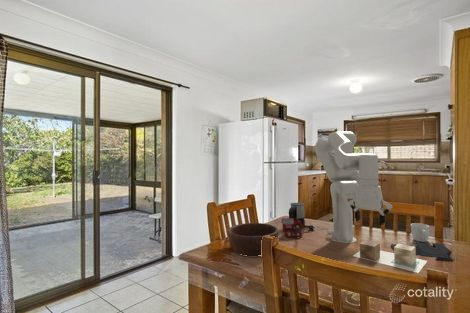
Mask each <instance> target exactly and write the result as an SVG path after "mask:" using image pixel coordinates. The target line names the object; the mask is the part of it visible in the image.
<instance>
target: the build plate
mask: <svg viewBox="0 0 470 313" xmlns="http://www.w3.org/2000/svg"><path fill="white" fill-rule="evenodd" d="M352 257H355V258H359V259H363V260H367V261H371V262H374V263H378V264H382V265H386V266H390V267H395V268H397V269H402V270H405V271H409V272H414V273H416V274H419V272H421V271H422V269H423V268H424V267H425V265H426V264H427V263H428V260H427V259H426V260H425V259H420V258H417V257H416V262H415V263H414V265H413V266H409V265H405V264H401V263H397V262H395V261H394V253H393V252H390V251H384V250H381V249H380V258H378V259H377V260H376V261H372V260H368V259H364V258H360V250H359V251H358V252H356V253H355V254H353V255H352Z"/></svg>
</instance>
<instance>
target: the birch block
mask: <svg viewBox="0 0 470 313" xmlns="http://www.w3.org/2000/svg"><path fill="white" fill-rule="evenodd" d="M396 244H397V245H396V246H395V247H394V250H393V252H394V261H395V262H397V263H401V264H405V265H409V266H413V265H414V263H415V262H416V258H417V256H416V249H415V247H414V246H415V245H413V246H409V245H410V244H403V243H396Z"/></svg>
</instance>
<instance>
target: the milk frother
mask: <svg viewBox="0 0 470 313" xmlns="http://www.w3.org/2000/svg"><path fill="white" fill-rule="evenodd" d="M289 204H290V207H289V209H288V218H293V219H294V220H295V218H298V219H299V221H301V223H302V225H303V227H304V229H305V228H306V229H309V230H310V229H316V228H315V226H313V224H312V225H306V224H305V222H306V221H305V203H303V202H290V203H289ZM299 225H300V224H299Z"/></svg>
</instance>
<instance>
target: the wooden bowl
mask: <svg viewBox="0 0 470 313" xmlns="http://www.w3.org/2000/svg"><path fill="white" fill-rule="evenodd" d="M265 235H270V236H275V237H277V238H278V239H279V229H278V227H277V226H275V225H272V224H270V223H269V224H268V223H261V222H246V223H244V222H243V223H240V224H239V223H238V224H235V225H232V226H230V227H229V228H228V229H227V238H228V242H229V243H228V244H229V245H230V248H231V250H232V251H233V252H234V253H235V252H236V253H238V254H242V255H247V256H258V255H261V240H262V237H263V236H265ZM236 253H235V254H236ZM238 254H237V255H238Z"/></svg>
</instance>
